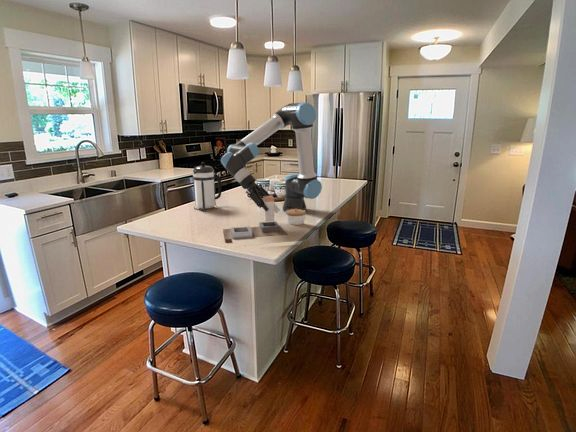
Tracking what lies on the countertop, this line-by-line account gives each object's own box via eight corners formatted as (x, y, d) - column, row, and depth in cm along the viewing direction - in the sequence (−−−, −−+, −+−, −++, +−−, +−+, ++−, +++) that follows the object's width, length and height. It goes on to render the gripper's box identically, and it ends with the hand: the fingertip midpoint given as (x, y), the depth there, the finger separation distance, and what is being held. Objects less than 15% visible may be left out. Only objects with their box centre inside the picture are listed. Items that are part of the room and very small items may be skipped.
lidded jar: (293, 229, 175) (293, 212, 173) (281, 224, 184) (281, 207, 181) (309, 226, 181) (309, 209, 179) (297, 221, 190) (297, 205, 187)
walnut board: (280, 227, 178) (280, 225, 177) (288, 237, 163) (288, 234, 162) (223, 231, 171) (223, 229, 170) (225, 242, 156) (225, 239, 155)
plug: (272, 218, 172) (272, 195, 169) (274, 220, 168) (273, 197, 165) (263, 219, 171) (263, 196, 168) (265, 221, 167) (264, 198, 164)
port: (249, 231, 167) (249, 226, 167) (252, 237, 158) (252, 232, 158) (230, 232, 165) (230, 227, 164) (232, 238, 156) (231, 233, 156)
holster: (276, 225, 176) (276, 221, 175) (279, 230, 168) (279, 226, 167) (259, 227, 174) (259, 222, 173) (262, 232, 166) (262, 227, 165)
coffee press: (216, 211, 209) (213, 163, 201) (190, 211, 209) (187, 163, 201) (222, 205, 226) (220, 160, 218) (198, 205, 226) (195, 160, 218)
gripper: (249, 180, 179) (278, 213, 178) (230, 187, 161) (262, 223, 160) (258, 171, 175) (287, 204, 174) (240, 176, 158) (272, 213, 157)
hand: (275, 213), depth 167 cm, fingers closed on plug, 6 cm apart
